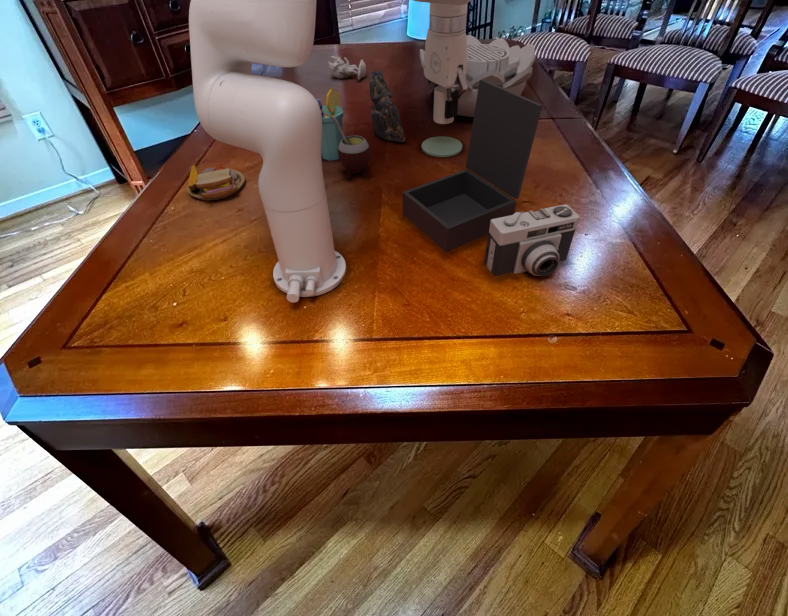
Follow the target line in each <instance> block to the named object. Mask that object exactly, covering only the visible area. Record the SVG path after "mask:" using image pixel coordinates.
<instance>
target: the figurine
mask: <svg viewBox="0 0 788 616" xmlns="http://www.w3.org/2000/svg"><path fill="white" fill-rule="evenodd" d="M341 57H342V56H339V55H338V56H335V55H331V56H330V58H331V59H333V60H335V61H334V62H331V61H328V65H329V66H328V69H329V73H330V74H331V75H332V76H333V77H334V78H336V79H338V80H342V79H348V78H350V76H351V75H353V76H354V75H357V81H358V82H359V81H361V79H363V78H366V74H367V65H366V63H365V61H364V58H363V59H360V60H359V61H360V62H359V64H358V66H357V65H356V64H350V63H351V61H350V60H348V58H347V57H343V59H344V60H342V58H341ZM345 61H346V62H345Z"/></svg>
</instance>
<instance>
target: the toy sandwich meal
mask: <svg viewBox="0 0 788 616" xmlns="http://www.w3.org/2000/svg"><path fill="white" fill-rule="evenodd" d="M188 178H189V179H188V183H187V184H186V187H185V189H186V192H187V193H188V195H190V196H191V197H194V198H195V199H198V200H202V201H217V200H223V199H226V198H228V197H231V196H233V195H234V194H236V193H237V192H239V191H240V190H241V189H242V187H243V185H244V183H245V180H246V179H245V175H244V174H243V173H242V172H241V171H239V170H236V169H231V168H230V167H224V166H219V167H206V168H205V169H203V170H202V171H201V173H199V172H198V170H197V167H196V165H195V164H193V165H191V167H190V171H189V177H188Z"/></svg>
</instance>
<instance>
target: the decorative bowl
mask: <svg viewBox="0 0 788 616" xmlns="http://www.w3.org/2000/svg"><path fill="white" fill-rule="evenodd" d="M466 39H467V70H466V79H465V80H466V84H467V87H468V90H467V91H466V92H464V93H463V94H462V95H461V96H460V99H458V110H457V116H461V117H467V118H468V117H469V118H474V112H475V106H476V100H477V94H478V88H479V81H480V80H481V79H484V80H486V81H488V82H491V83H493V84H495V85H498V86H500V87H502V88H505V89H507V90H509V91H511V92H514V93H516V94H518V95H521V96H522V93H523V91H524V90H525V87H526V85H527V81H528V80H529V79H530V78H532V76H533V75H532V74H533V64H534V63H535V61H536V56H537V54H535V52H536V51H535V50H536V49H535V45H534V43H529V44H526V45H524V46H522V47H520V45H517V44H516V45H513V46H511V47H510V45H509V44H508V42H507V41H506V39H504V38H503V37H499V38H496V39H494V40H493V41H491V42H489V43H488V44H487V43H481V41H479V40H478V39H477V37H475V36H473V35H471V34H467V35H466ZM424 54H425V49H422V48H420V49H419V60H420V65H421V68H423V70H424ZM454 84H455V83H454Z"/></svg>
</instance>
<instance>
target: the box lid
mask: <svg viewBox="0 0 788 616" xmlns="http://www.w3.org/2000/svg"><path fill="white" fill-rule="evenodd" d="M542 110H543V104H541V103H539V102H536V101H534V100H532V99H530V98H527V97H525V96H523V95H522V94H521V95H518V94H516V93H514V92H511V91H509V90H507V89H505V88H502V87H500V86H498V85H495V84H493V83H491V82H488V81H486V80H484V79H481V80H480V81H479V88H478V94H477V100H476V106H475V112H474V117H473V119H472V125H471V132H470V138H469V144H468V150H467V157H466V163H465V168H466V169H468V170H469V171H471V172H472V173H474V174H475V175H477V176H479V177H480V178H482V179H483V180H485V181H486V182H488V183H489V184H491V185H493V186H494V187H496V188H497V189H499V190H500V191H502V192H503V193H505V194H506V195H508V196H510V197H511V198H513V199H514V200H517V199H519V198H520V195H521V190H522V187H523V183H524V179H525V175H526V171H527V167H528V164H529V159H530V157H531V151H532V148H533V144H534V140H535V136H536V132H537V128H538V124H539V122H540V121H539V120H540V117H541V113H542Z"/></svg>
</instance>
